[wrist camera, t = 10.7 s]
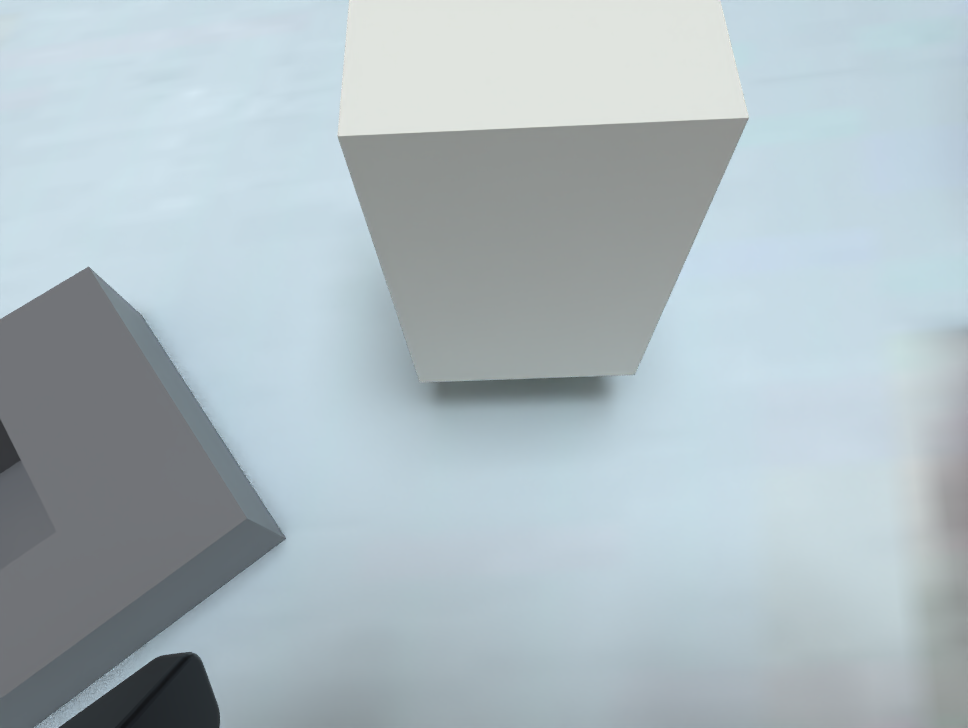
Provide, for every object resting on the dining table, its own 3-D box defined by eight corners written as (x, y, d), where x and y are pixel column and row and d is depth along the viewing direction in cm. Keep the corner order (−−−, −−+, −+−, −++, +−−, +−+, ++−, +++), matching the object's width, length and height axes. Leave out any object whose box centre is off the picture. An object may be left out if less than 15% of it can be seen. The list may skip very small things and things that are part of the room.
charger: (621, 404, 17) (749, 118, 8) (429, 411, 17) (337, 136, 8) (603, 242, 19) (687, -134, 10) (431, 249, 19) (359, -116, 10)
